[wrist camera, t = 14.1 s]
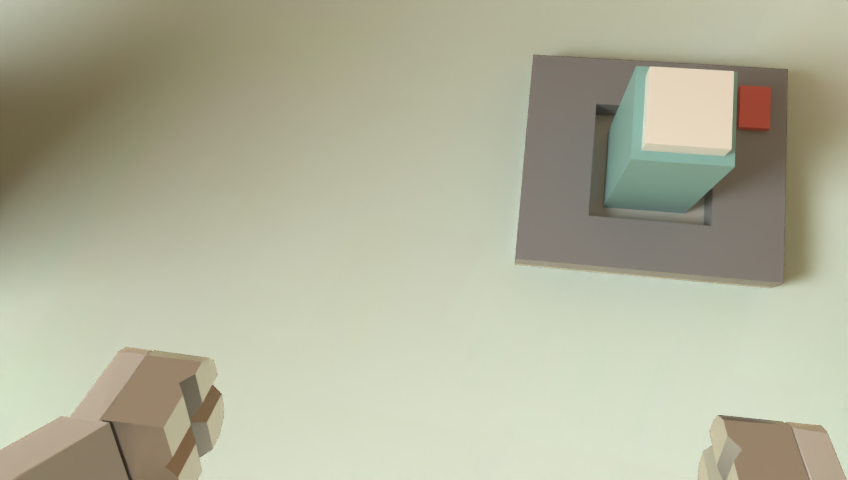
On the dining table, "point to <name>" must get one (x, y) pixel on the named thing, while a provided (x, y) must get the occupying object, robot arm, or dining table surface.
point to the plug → (670, 138)
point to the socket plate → (637, 229)
